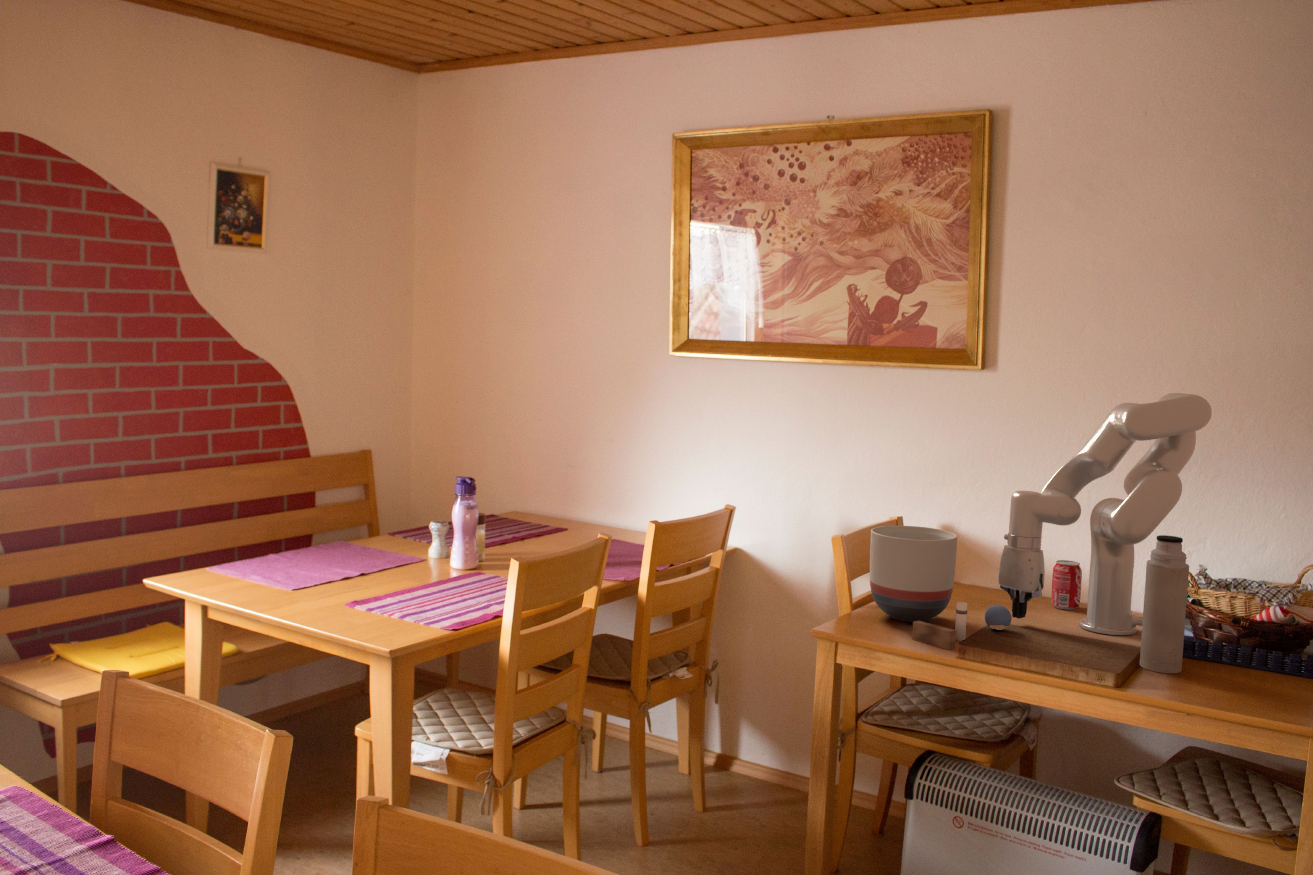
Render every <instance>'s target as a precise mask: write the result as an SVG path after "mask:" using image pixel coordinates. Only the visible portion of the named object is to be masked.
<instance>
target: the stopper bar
mask: <svg viewBox="0 0 1313 875" xmlns="http://www.w3.org/2000/svg"><path fill="white" fill-rule="evenodd" d="M911 636H912V638H911V639H912V640H915V641H918V642H920V643H925V644H929V645H932V646H935V647H939V648H942V649H946V650H950V651H951V650H954V649H956V640H955V639H956V630H955V629H951V628H948V627H944V626H941V625H937V624H933V623H930V622H929V623H928V622H927V621H923V622H922V621H914V622H912V635H911Z"/></svg>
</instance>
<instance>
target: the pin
mask: <svg viewBox="0 0 1313 875" xmlns="http://www.w3.org/2000/svg"><path fill="white" fill-rule="evenodd" d="M967 619H968V602H965V601H956V605H955V620H954V622H955V625H954V626H955V627H954V630H956V639H955V641H958V642H963V641H962V640H964V639H966V640H967V638H966V637H967Z"/></svg>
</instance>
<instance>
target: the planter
mask: <svg viewBox="0 0 1313 875" xmlns="http://www.w3.org/2000/svg"><path fill="white" fill-rule="evenodd" d="M869 544H870V545H869V546H870V547H869V586H870V591H871V592H870V593H871V596H872V599H873V601H874V603H875V604H876V605H877V607H878V608H879V609H880V610H881V611H882V612H883V613H884V614H886V616H888V617H890V618H892V619H895V620H897V621H901V622H906V623H913V622H914V621H922V622H927V621H929V620H932V619H934V618H936V617H938V616H939V615H940V614H942V613H943V611H944V610H946V609H947V607H948V605H949V603H950V601H951V598H952V594H953V592H954V584H955V575H956V563H957V550H958V535H957V534H956V533H954V532H952V531H948V530H944V529H941V528H940V529H939V528H935V527H926V526H917V525H916V526H913V525H883V526H876V527H873V528H871V529H870V543H869Z"/></svg>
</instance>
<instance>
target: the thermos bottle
mask: <svg viewBox="0 0 1313 875" xmlns="http://www.w3.org/2000/svg"><path fill="white" fill-rule="evenodd" d="M1156 540H1157V541H1156V543H1155V544H1156V545H1155V548H1154V549H1152V550H1151V551H1150V555H1149V557H1150V559H1149V560H1147V561H1146V568H1145V582H1144V584H1145V585H1144V597H1143V610H1142V617H1143V623H1142V626H1141V636H1140V637H1141V641H1140V651H1139V652H1140V654H1139V655H1140V656H1139V666H1140V667H1142V668H1143V669H1145V670H1148V671H1151V672H1157V673H1163V674H1177V673H1181V672H1182V671H1183V670H1182V669H1183V668H1182V667H1183V658H1184V657H1183V655H1184V643H1185V642H1184V640H1185V628H1186V618H1187V617H1186V613H1187V602H1188V600H1187V599H1188V588H1189V576H1190V565H1189V564H1187V554H1186V553H1185V552H1184V551H1183V545H1182V544H1183V542H1184V540H1183V538H1182V537H1179V536H1174V535H1166V534H1165V535H1164V534H1163V535H1157V536H1156Z"/></svg>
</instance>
